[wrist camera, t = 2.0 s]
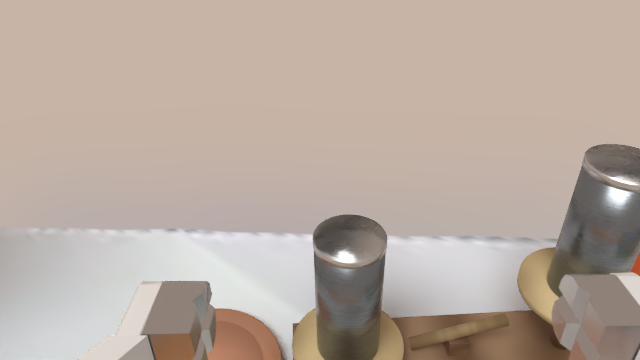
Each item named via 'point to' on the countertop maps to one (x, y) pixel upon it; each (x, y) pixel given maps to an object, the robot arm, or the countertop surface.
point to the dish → (242, 338)
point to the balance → (465, 328)
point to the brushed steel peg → (349, 286)
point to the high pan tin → (601, 217)
